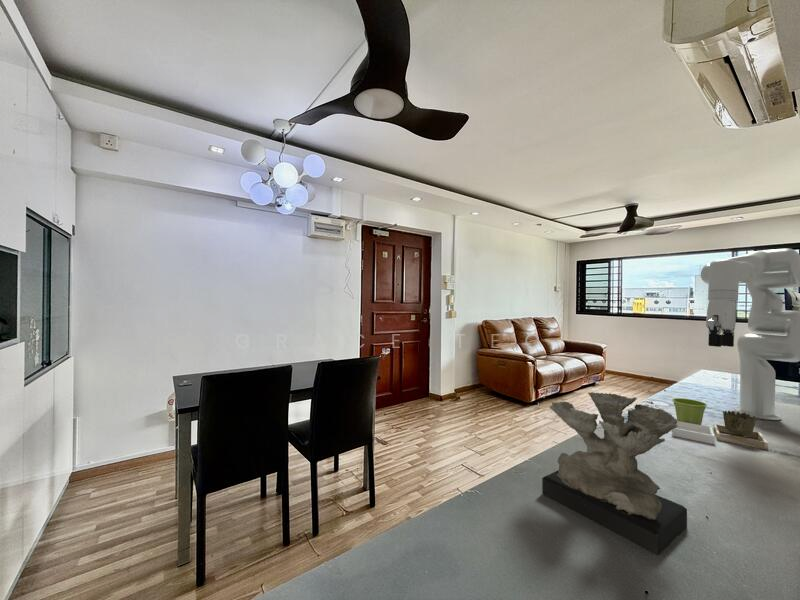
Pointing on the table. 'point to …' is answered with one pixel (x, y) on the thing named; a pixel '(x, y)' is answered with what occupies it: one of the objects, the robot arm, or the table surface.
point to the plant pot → (689, 410)
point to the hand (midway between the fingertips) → (721, 346)
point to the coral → (617, 472)
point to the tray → (694, 432)
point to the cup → (739, 423)
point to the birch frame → (740, 438)
